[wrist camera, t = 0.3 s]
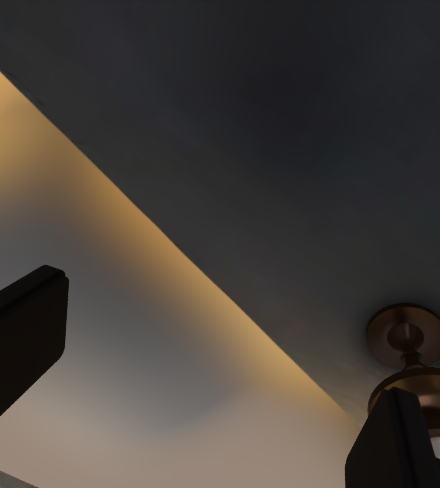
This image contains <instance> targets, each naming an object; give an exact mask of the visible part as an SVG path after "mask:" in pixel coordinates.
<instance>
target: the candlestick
mask: <svg viewBox="0 0 440 488" xmlns="http://www.w3.org/2000/svg"><path fill="white" fill-rule="evenodd" d="M366 337H367V344H368V347H369V349H370V351H371V353H372V354H373V356H374V357H376V358H377V359H378V360H379V361H380V362H382V363H383V364H385V365H387V366H389V367H392V368H396V369H401V370H403V371H401V372H398V373H395V374H393V375H391V376H390V377H388V378H386V379H385V380H383V381H382V382H381V383H380V384H379V385H378V386H377V387H376V388H375V390H374V391H373V392H372V394H371V397H370V399H369V402H368V410H367V412H368V416H369V414H370V412H371V411H372V409H373V407H374V405H375V403H376V401H377V399H378V397H379V395H380V393H381V392H382V390H383V389H386V390H390V388H392V387H394V386H395V387H398V388H400V389H403V390H406V391H409V392H412V393H415V394H416V395H417V396H418V398H419V401H420V405H421V408H422V412H423V415H424V419H425V422H426V426H427V429H428V432H429V436H430V439H431V443H432V446H433V450H434V453H435V456H436V457H437V458H439V459H440V368H434V367H427V366H428V365H430V364H432V363H434V362H435V361H436V360H437V359H439V358H440V319H439V318H438V317H437V315H436V314H435V313H433V312H432V311H430V310H429V309H427V308H425V307H422V306H420V305H416V304H408V303H402V304H395V305H390V306H388V307H385V308H383V309H382V310H380V311H379V312H377V313H376V314H375V315H374V316H373V317H372V318H371V320H370V321H369V323H368V326H367V330H366Z"/></svg>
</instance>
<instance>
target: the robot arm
mask: <svg viewBox="0 0 440 488" xmlns="http://www.w3.org/2000/svg"><path fill="white" fill-rule="evenodd" d="M68 289H69V279H68V278H67V277H65V272H64V271H63V270H60V269H57V268H54V267H51V266H48V265H43V266H41V267H39V268H38V269H36V270H34V271H32V272H31V273H29V274H27V275H26V276H24V277H22V278H21V279H19V280H17V281H16V282H14V283H12V284H10V285H9V286H7V287H5V288H4V289H2V290H0V416H1V415H2V414H3V413H4V412H5V411H6V410H7V409H8V408H9V407H10V406H11V405H12V404H13V403H14V402H15V401H16V400H17V399H19V397H21V396H22V395H23V394H24V393H25V392H26V391H27V390H28V389H29V388H30V387H31V386H32V385H33V384H34V383H35V382H36V381H37V380H38V379H39V378H40V377H41V376H42V375H43V374H44V373H45V372H46V371H47V370H48V369H49V368H50V367H51V366H52V365H53V364H54V363H55V362H57V360H59V358H60V357H61V356H62V354H63V351H64V349H65V336H66V320H67V305H68ZM0 488H38V487H35V486H33V485H31V484H29V483H26V482H24V481H22V480H19V479H17V478H15V477H13V476H11V475H8V474H6V473H4V472H2V471H0ZM345 488H440V459H439V458H437V457H436V456H435V453H434V450H433V446H432V443H431V439H430V436H429V432H428V429H427V426H426V422H425V419H424V415H423V412H422V408H421V405H420V401H419V398H418V396H417V395H416V394H415V393H412V392H409V391H406V390H403V389H400V388H398V387H395V386H394V387H392V388H390V390H386V389H383V390H382V392H381V393H380V395H379V397H378V399H377V401H376V403H375V405H374V407H373V409H372V411H371V412H370V414H369V416H368V418H367V420H366V422H365V424H364V426H363V428H362V430H361V432H360V434H359V436H358V437H357V439H356V441H355V443H354V445H353V447H352V449H351V451H350V453H349V455H348V457H347V460H346V464H345Z"/></svg>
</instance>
